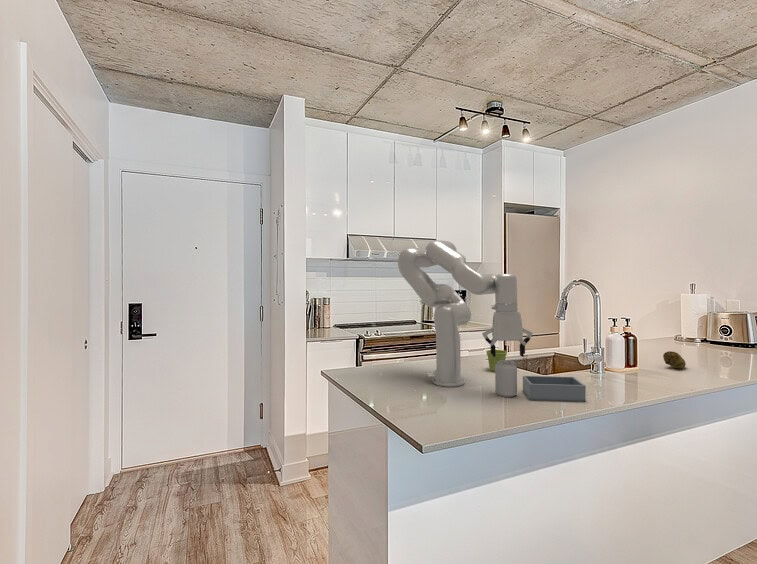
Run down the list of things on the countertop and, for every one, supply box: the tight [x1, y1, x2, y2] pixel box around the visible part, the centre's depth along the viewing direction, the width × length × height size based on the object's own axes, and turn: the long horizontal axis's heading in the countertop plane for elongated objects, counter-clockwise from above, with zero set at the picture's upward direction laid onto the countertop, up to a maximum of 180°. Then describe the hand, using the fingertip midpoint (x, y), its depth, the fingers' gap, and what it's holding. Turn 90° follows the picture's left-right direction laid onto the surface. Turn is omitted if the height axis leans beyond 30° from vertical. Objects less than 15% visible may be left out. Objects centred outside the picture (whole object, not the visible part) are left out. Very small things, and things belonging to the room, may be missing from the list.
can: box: [494, 359, 518, 398], centre depth 150 cm, size 8×8×12 cm
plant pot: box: [485, 349, 508, 373], centre depth 187 cm, size 9×9×9 cm
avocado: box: [662, 350, 687, 370], centre depth 188 cm, size 8×13×8 cm, turn 108°
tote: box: [522, 375, 587, 403], centre depth 148 cm, size 18×12×6 cm, turn 82°
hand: (507, 356), depth 150 cm, fingers open, 9 cm apart
